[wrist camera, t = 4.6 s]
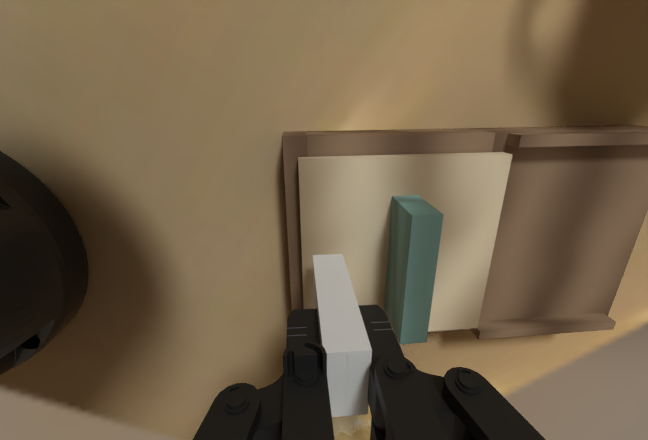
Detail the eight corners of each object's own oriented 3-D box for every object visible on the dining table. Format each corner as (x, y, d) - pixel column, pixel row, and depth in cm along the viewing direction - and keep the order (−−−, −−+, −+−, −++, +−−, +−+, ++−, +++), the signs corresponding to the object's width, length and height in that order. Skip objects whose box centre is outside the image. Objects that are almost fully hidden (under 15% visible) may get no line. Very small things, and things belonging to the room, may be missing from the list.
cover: (304, 331, 20) (307, 381, 17) (298, 157, 16) (299, 173, 13) (470, 319, 21) (507, 364, 17) (503, 152, 17) (558, 166, 14)
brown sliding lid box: (293, 317, 23) (293, 354, 20) (283, 131, 18) (281, 139, 15) (576, 298, 25) (619, 329, 21) (633, 125, 20) (699, 130, 17)
